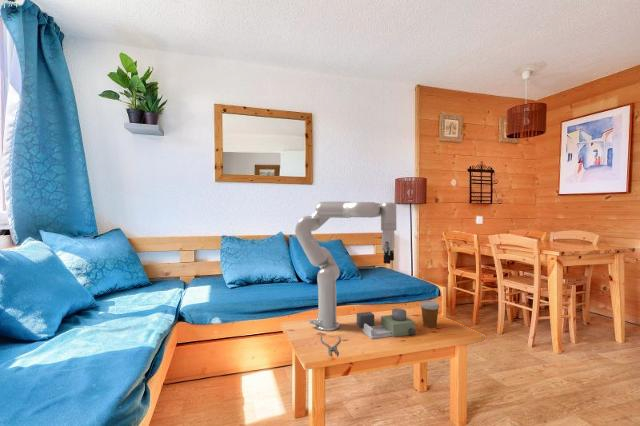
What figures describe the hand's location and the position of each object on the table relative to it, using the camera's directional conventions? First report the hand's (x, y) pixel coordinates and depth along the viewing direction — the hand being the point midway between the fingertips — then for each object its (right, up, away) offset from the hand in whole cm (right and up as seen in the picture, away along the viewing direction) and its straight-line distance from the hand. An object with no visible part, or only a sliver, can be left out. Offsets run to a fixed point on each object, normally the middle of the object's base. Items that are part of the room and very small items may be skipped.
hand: (388, 261), depth 148 cm
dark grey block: (-10, -36, +11) cm, 38 cm away
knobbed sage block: (0, -35, +1) cm, 35 cm away
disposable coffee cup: (+24, -36, +10) cm, 44 cm away
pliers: (-28, -36, -13) cm, 47 cm away
